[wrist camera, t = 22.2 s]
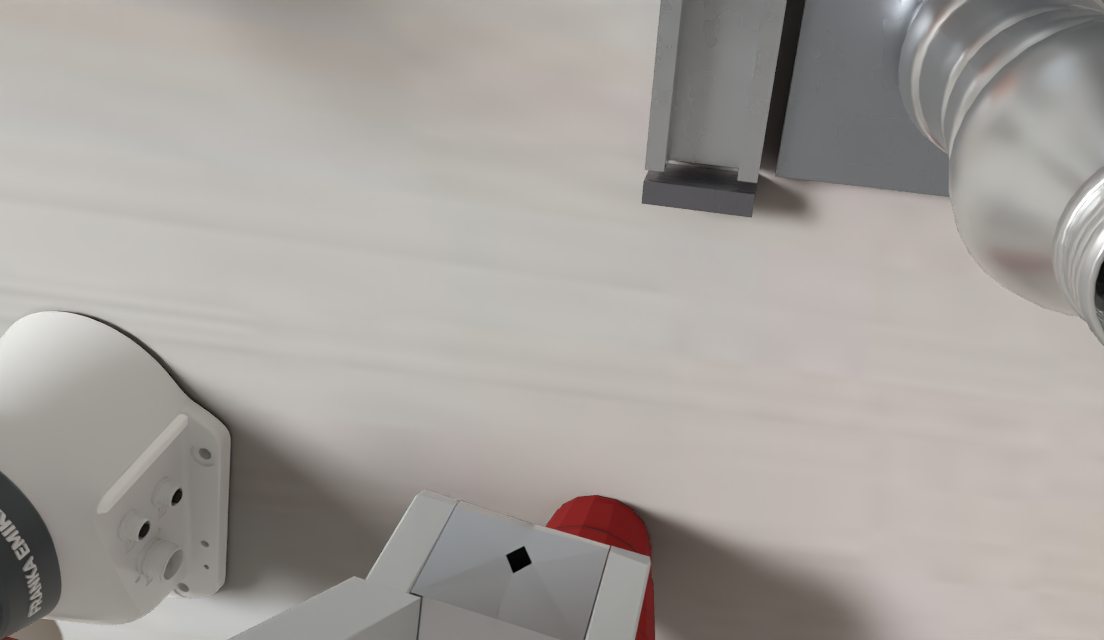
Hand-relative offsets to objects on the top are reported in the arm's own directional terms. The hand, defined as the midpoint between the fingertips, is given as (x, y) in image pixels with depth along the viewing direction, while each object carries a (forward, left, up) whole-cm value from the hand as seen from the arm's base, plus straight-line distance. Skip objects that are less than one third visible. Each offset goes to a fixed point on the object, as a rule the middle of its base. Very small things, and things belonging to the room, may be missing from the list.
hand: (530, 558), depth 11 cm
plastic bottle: (+2, -10, -28) cm, 29 cm away
